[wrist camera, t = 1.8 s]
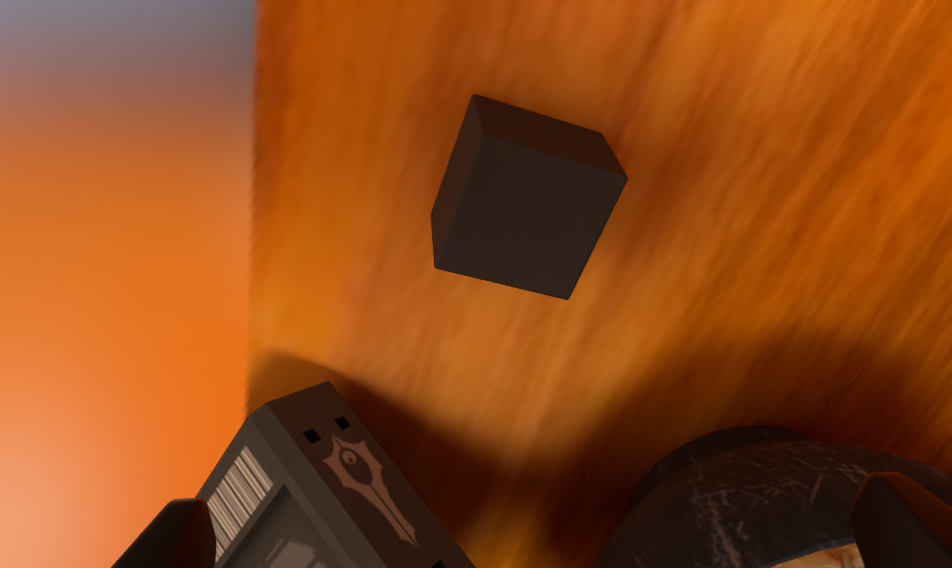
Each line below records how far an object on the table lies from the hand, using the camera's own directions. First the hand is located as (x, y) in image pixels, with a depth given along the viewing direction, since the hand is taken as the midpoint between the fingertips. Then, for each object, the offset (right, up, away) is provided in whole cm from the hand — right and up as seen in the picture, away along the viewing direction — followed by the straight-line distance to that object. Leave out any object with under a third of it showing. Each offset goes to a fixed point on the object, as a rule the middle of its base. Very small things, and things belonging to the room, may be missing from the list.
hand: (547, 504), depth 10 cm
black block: (0, +6, +12) cm, 13 cm away
